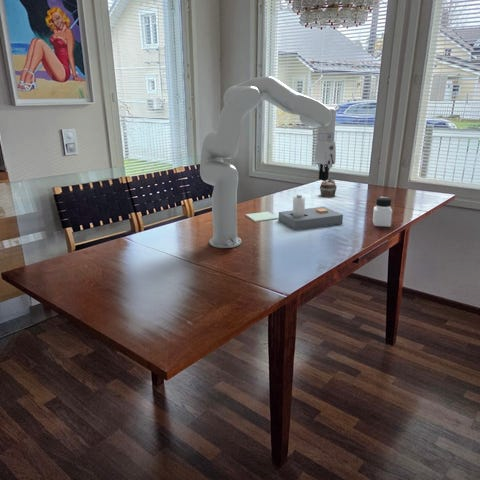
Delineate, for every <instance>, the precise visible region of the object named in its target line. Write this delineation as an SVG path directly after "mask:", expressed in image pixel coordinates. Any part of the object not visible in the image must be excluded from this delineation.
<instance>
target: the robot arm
mask: <svg viewBox="0 0 480 480" xmlns="http://www.w3.org/2000/svg"><path fill="white" fill-rule="evenodd" d="M260 101H267V102H268V103H269V104H271V105H273V106H275V107H276V108H278V109H279V110H281V111H282V112H284V113H287V114H290V115H294V116H299V121H300V123H301V125H302V124H303V125H304V126H306V127H316V143H315V144H316V145H315V153H314V160H315V162H316V163H315V164H316V166H318V167H317V168H318V180H321V181H323V180H328V178H329V171H330V169H331V168H333V165H335V164H336V156H337V154H336V153H337V152H336V140H335V134H336V118H337V117H336V116H337V110H336V108H334V107H328V106H326V105H325V104H324V103H322V102H320V101H319V100H316V99H314V98H312V97H310V96H307V95H304V94H302V93H300V92H297V91H296V90H294V89H292V88H290V87H289V86H288V85H287V84H285V83H283V82H282V81H281V80H279V79H277V78H275V77H273V76H269V75H268V76H258V77H254V78H250V79H248V80H246V81H243V82H241V83H238V84H235V85H233V86H229V88H228V89H226V91H224V94H223V103H224V106H223V108H222V109H221V111H220V114H219V119H218V124H217V128H216V129H217V131H215V130H214V131H210V132H209V133H207V135H206V136H205V137H204V138H203V141H202V147H201V153H200V154H201V155H200V161H199V162H200V163H199V174H200V175H199V176H200V178H201V180H202V181H203V183H206V184H208V185H210V186H213V191H212V194H211V212H212V213H211V217H212V218H211V219H212V236H213V237H211V238H210V239H209V245H210V246H211V247H214V248H219V249H230V248H236V247H238V246H240V245H241V244H242V239H241V238H240V237H239V236H238V210H237V209H238V206H237V204H238V203H237V201H238V200H237V195H238V194H237V193H238V184H239V171H238V170H237V168H236V167H235V166H234V165H233V164H231V163H229V162H225V161H223V159H225V160H228V159H229V160H230V159H233V158H235V157H236V156H237V155H238V152H239V147H240V140H241V132H242V126H243V121H244V119H245V117H246V116H247V115H248V114H249V112H251V111H252V110H254V109H255V108H256V107H258V105H259V104H260Z"/></svg>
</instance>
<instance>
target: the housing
mask: <svg viewBox="0 0 480 480" xmlns="http://www.w3.org/2000/svg"><path fill="white" fill-rule="evenodd" d="M322 208H323V209H326V210H328V213H322V214H320V213H317V212H316V209H322ZM278 218H279V219H278V221H279V222H281V223H282V224H284V225H286V226H287V227H289V228H291V229H293V230H294V231H298V230H304V229H312V228H319V227H326V226H333V225H340V224H343V219H344V214H342V213H339V212H337V211H335V210H332V209H331V208H328V207H326V206H317V207H308V208H305V215H304V217H296V218H295V217H294V216H293V209H291V210H284V211H278Z"/></svg>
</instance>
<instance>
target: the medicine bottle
mask: <svg viewBox="0 0 480 480" xmlns="http://www.w3.org/2000/svg"><path fill="white" fill-rule="evenodd" d="M375 202H376V204H375V206H373V213H372V224H373V226H374V227H390V228H391V227H392V222H393V221H392V220H393V213H394V212H393V210H392V199H391V198H390V197H386V196H380V197H377V198H376V201H375Z"/></svg>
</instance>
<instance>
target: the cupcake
mask: <svg viewBox="0 0 480 480" xmlns="http://www.w3.org/2000/svg"><path fill="white" fill-rule="evenodd" d="M319 191H320V196H321V197H325V198H333V197H335V196H336V192H337V185H336V180H335V179H334V178H332V177H328V180H322V181H321V183H320V186H319Z"/></svg>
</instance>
